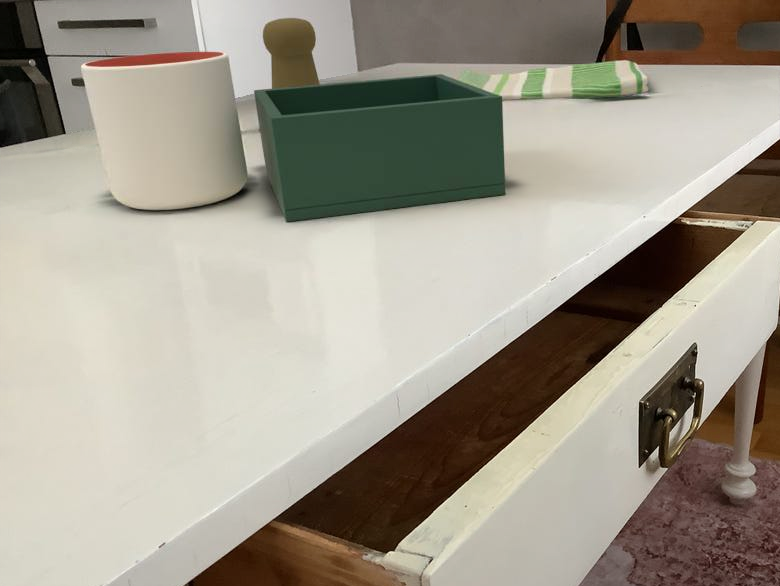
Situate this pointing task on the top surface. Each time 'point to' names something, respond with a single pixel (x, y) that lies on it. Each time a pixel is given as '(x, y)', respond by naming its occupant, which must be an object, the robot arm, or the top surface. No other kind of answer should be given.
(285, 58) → the cork
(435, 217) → the top surface
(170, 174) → the cup
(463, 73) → the dish towel
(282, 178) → the tub
